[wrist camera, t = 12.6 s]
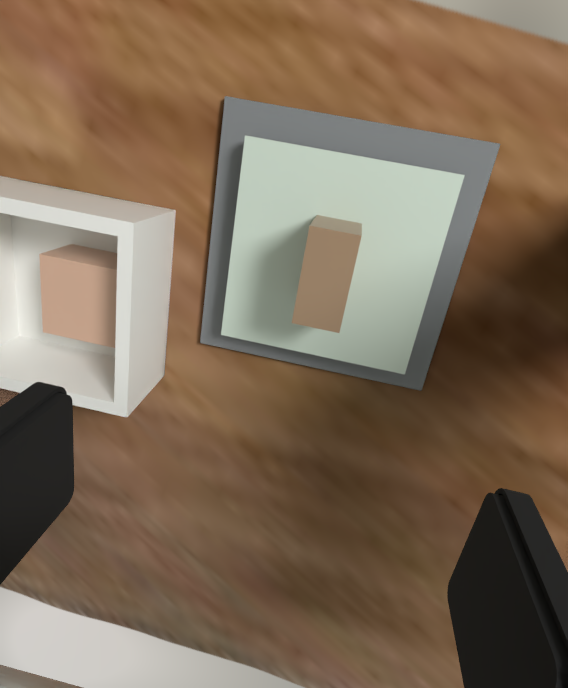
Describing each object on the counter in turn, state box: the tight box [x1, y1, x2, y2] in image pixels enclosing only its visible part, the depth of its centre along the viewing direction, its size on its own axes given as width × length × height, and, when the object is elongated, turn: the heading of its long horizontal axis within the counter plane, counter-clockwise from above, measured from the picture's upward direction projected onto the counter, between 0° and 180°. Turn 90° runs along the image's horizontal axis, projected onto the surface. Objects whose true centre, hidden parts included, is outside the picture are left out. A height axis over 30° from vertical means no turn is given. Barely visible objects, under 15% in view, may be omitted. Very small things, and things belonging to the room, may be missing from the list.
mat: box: [200, 96, 500, 391], centre depth 34 cm, size 18×18×1 cm
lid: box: [221, 135, 465, 374], centre depth 31 cm, size 14×14×7 cm
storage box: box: [0, 176, 176, 417], centre depth 35 cm, size 14×14×7 cm
